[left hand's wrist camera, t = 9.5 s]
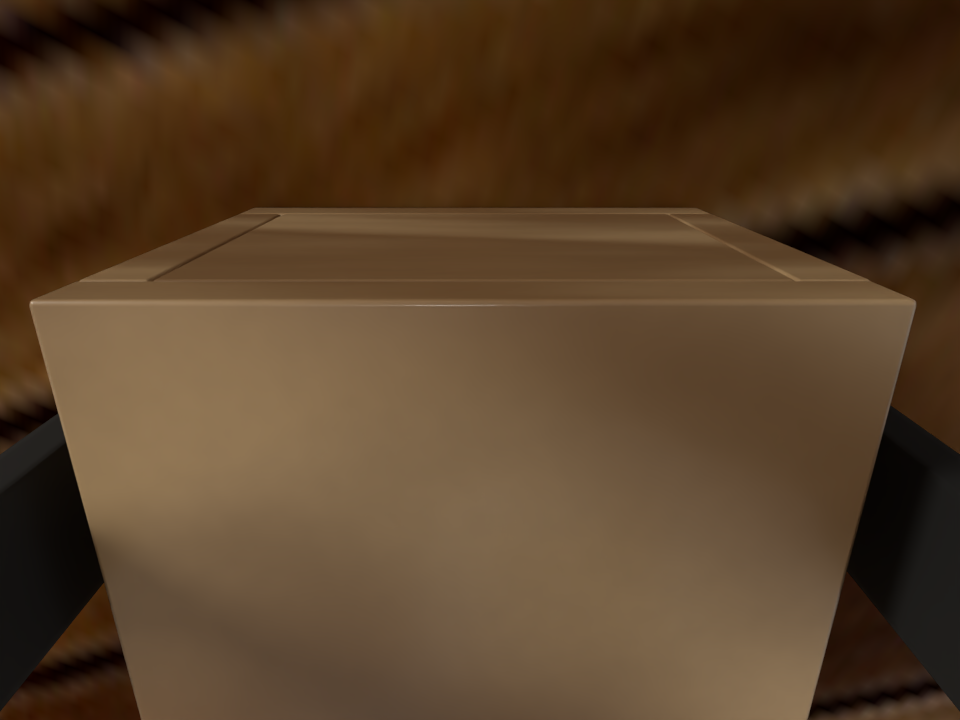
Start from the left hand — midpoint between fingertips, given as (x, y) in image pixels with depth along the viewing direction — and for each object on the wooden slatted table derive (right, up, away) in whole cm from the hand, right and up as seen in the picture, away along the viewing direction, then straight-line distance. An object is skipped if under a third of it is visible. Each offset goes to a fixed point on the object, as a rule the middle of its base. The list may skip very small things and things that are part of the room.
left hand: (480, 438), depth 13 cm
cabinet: (0, -2, +6) cm, 6 cm away
